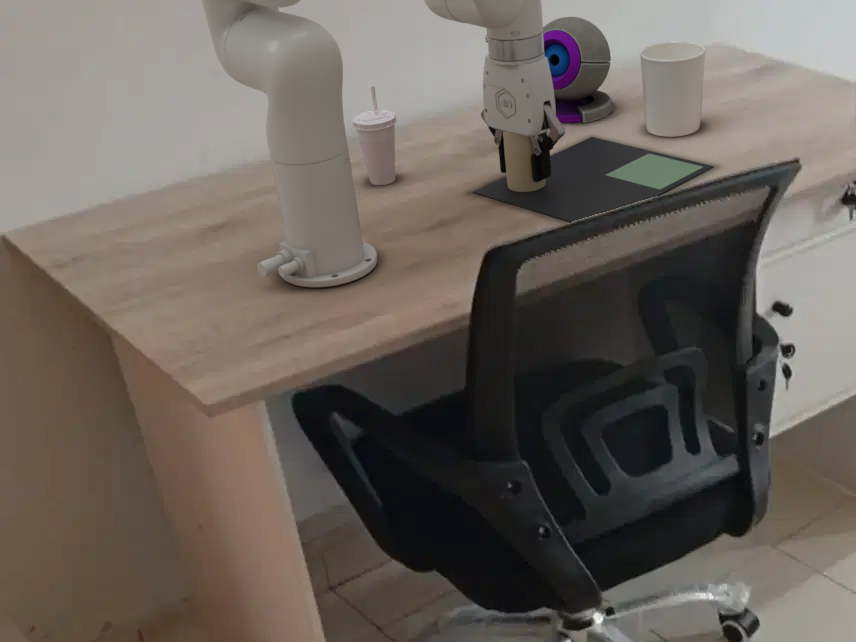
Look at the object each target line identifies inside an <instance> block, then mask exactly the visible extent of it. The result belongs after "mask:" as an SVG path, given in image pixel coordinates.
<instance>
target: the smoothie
mask: <svg viewBox="0 0 856 642" xmlns="http://www.w3.org/2000/svg"><path fill="white" fill-rule="evenodd" d="M370 92H371V100H372V107H373V110H368V111H364V112H363V111H362V112H361V113H358V114H356V115H354V116H353V117H352V119H351V121H352V128H353V129H354V130H355V132H356V135H357V139H358V143H359V146H360V149H361V153H362V157H363V160H364V164H365V168H366V170H367V174H368V178H369V181H370V184H371V185H374V186H385V185H389V184H392V183H394V182H395V181H396V127H395V124H397V116H396V113H395V112H394V111H392V110H386V109H378V103H377V101H378V100H377V95H376V94H377V93H376V86H375V85H370Z"/></svg>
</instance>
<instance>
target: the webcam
mask: <svg viewBox="0 0 856 642" xmlns="http://www.w3.org/2000/svg"><path fill="white" fill-rule="evenodd" d="M543 37H544V53H545V57H547V60H548V63H549V67H550V72H551V77H552V82H553V89H554V97H555V107H556V117H557V118H558V120H559V121H560V123H561V124H564V123H565V124H572V123H573V124H575V123H583V124H586V123H591V122H595V121H598V120H601V119H603V118H605V117H607V116H608V115H610V114H611V112H612V111H613V101H612V97H611V96H610V95H609V94H607V93H606V92H604V91H601V90H598V89H600V87H601V86H602V85H603V84H604V83H605V80H606V79H607V77H608V74H609V72H610V67H611V63H612V60H611V50H610V45H609V42H608V40H607V38H606V37H605V35H604V33H603V32H602V30H601V29H599V27H597V25H595V24H594V23H592V22H591V21H589V20H586V19H585V18H582V17H578V16H563V17H558V18H556V19H553V20H551V21H550V22H548V23H547V24H546V25H543Z"/></svg>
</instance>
